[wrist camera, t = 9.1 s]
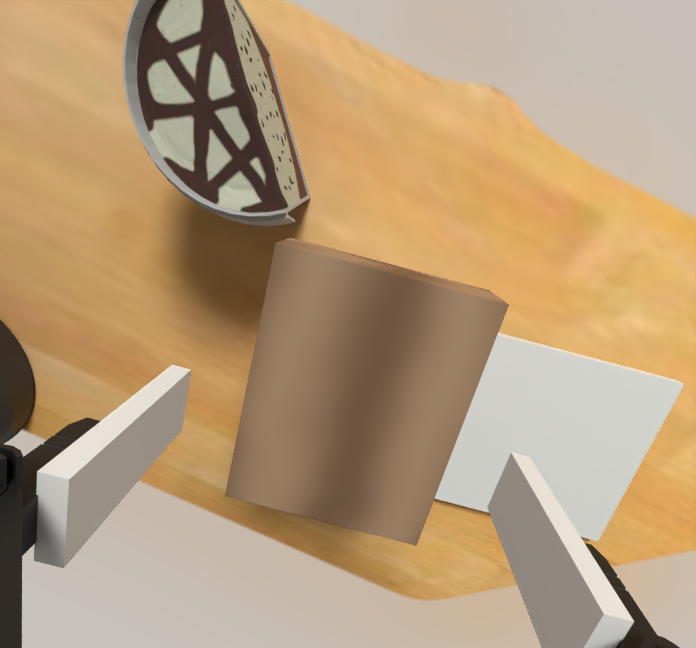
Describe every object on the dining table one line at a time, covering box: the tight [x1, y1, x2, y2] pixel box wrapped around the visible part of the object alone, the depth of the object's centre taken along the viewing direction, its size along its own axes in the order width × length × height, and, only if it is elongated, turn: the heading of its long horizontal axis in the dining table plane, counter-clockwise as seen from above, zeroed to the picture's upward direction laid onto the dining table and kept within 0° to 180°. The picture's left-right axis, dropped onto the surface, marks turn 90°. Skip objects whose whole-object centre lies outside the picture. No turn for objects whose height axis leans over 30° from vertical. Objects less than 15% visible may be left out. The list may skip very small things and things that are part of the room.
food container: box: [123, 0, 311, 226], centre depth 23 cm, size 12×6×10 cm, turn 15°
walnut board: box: [225, 238, 509, 546], centre depth 20 cm, size 10×13×3 cm
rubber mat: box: [434, 333, 684, 541], centre depth 32 cm, size 16×15×1 cm
